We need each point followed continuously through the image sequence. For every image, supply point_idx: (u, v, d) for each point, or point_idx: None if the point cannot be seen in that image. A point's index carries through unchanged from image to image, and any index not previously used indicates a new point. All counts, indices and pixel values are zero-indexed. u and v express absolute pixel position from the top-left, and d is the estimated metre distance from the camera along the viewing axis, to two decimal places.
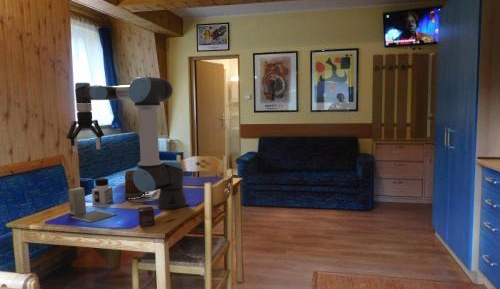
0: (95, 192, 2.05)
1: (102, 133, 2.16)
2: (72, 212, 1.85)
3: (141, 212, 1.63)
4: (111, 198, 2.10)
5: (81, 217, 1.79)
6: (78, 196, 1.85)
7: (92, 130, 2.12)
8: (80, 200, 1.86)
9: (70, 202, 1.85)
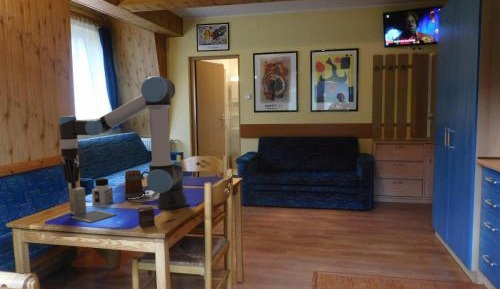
0: (95, 192, 2.05)
1: (73, 179, 1.85)
2: (72, 212, 1.85)
3: (141, 212, 1.63)
4: (111, 198, 2.10)
5: (81, 217, 1.79)
6: (79, 196, 1.85)
7: None
8: (80, 200, 1.86)
9: (71, 202, 1.85)
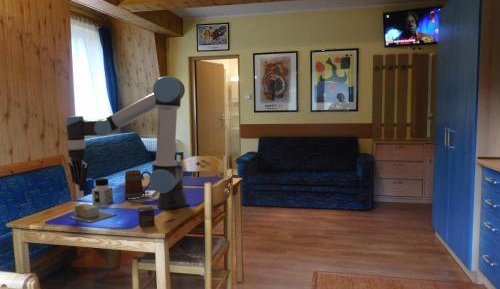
0: (95, 192, 2.05)
1: (81, 180, 1.82)
2: (75, 211, 1.83)
3: (141, 212, 1.63)
4: (111, 198, 2.10)
5: (81, 217, 1.79)
6: None
7: None
8: None
9: (79, 211, 1.80)
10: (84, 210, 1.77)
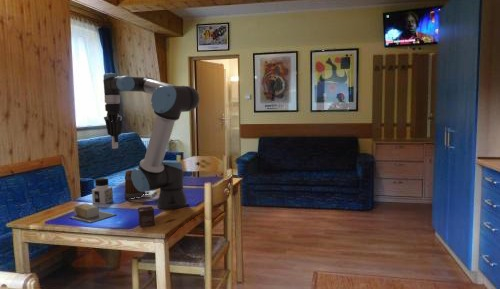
0: (95, 192, 2.05)
1: (116, 132, 2.00)
2: (75, 211, 1.83)
3: (141, 212, 1.63)
4: (111, 198, 2.10)
5: (81, 217, 1.79)
6: None
7: None
8: None
9: (79, 211, 1.80)
10: (84, 210, 1.77)
